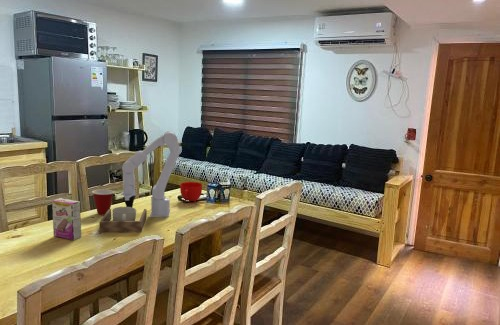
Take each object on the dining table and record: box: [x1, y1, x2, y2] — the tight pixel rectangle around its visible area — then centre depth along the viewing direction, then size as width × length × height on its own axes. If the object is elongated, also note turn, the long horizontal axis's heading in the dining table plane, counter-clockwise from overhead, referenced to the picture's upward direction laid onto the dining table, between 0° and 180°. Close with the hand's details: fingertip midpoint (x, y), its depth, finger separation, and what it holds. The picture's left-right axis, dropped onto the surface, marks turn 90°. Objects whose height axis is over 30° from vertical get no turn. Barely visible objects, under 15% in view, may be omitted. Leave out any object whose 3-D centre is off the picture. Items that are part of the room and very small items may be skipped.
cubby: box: [98, 208, 148, 234], centre depth 186 cm, size 18×19×5 cm
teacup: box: [111, 206, 137, 221], centre depth 185 cm, size 14×11×8 cm
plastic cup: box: [91, 189, 115, 216], centre depth 202 cm, size 11×11×12 cm
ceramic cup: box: [179, 181, 203, 202], centre depth 229 cm, size 13×17×10 cm
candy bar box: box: [51, 197, 82, 241], centre depth 168 cm, size 11×5×16 cm, turn 71°
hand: (129, 210), depth 200 cm, fingers closed
